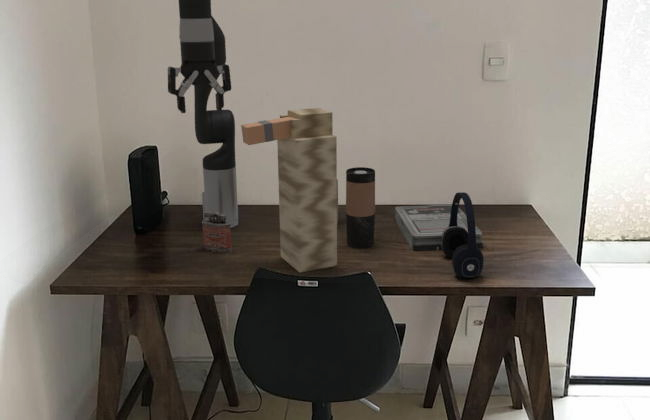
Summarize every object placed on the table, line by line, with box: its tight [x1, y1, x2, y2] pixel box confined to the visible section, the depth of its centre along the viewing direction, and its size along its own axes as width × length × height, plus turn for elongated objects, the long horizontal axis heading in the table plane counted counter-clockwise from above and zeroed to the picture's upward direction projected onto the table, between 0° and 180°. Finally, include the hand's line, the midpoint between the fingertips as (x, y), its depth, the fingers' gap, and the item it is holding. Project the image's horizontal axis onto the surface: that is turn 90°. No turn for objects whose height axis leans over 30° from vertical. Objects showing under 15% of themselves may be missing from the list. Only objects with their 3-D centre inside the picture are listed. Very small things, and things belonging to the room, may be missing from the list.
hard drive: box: [394, 204, 483, 252], centre depth 195 cm, size 18×27×4 cm
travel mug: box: [345, 166, 376, 249], centre depth 184 cm, size 8×8×20 cm
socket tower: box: [276, 107, 338, 273], centre depth 170 cm, size 10×12×37 cm
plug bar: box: [240, 116, 298, 146], centre depth 162 cm, size 14×4×4 cm, turn 115°
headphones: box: [441, 191, 484, 280], centre depth 168 cm, size 20×7×18 cm, turn 2°
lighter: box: [201, 212, 233, 253], centre depth 183 cm, size 8×3×10 cm, turn 71°
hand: (201, 111), depth 163 cm, fingers open, 8 cm apart
